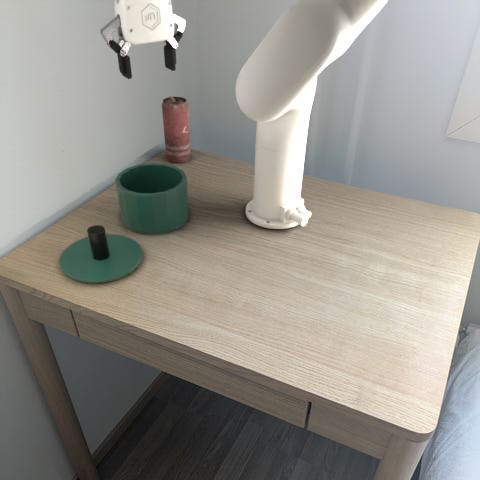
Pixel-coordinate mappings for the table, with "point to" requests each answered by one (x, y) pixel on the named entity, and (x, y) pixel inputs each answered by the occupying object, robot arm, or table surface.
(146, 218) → the pot
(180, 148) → the can
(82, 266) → the lid
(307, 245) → the table surface
